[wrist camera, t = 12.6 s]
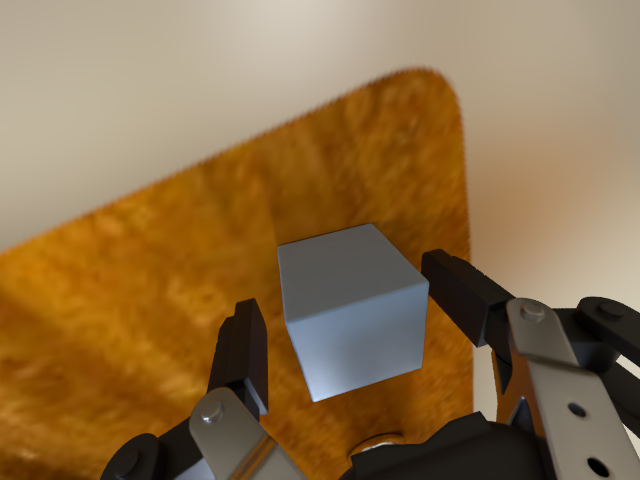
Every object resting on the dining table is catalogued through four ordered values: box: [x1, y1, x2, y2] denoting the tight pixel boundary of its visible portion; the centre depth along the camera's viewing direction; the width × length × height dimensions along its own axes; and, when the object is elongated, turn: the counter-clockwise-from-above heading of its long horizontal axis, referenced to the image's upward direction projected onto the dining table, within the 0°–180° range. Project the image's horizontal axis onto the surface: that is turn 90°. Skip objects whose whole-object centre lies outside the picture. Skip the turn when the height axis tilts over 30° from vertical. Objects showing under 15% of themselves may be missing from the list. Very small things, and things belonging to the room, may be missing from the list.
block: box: [277, 223, 429, 402], centre depth 10 cm, size 5×5×5 cm
